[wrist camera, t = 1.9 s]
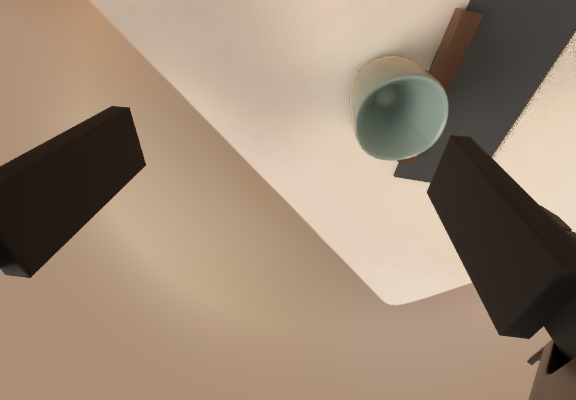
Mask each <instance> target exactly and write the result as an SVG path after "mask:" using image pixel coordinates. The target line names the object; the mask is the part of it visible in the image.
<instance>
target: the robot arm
mask: <svg viewBox="0 0 576 400" xmlns="http://www.w3.org/2000/svg"><path fill="white" fill-rule="evenodd" d="M144 166H146V163H145V160H144V157H143V153H142V149H141V146H140V142H139V139H138V136H137V132H136V128H135V125H134V122H133V118H132V115H131V111H130V108H128V107H117V106H111V107H109V108H108V109H106V110H104V111H102V112H100V113H98V114H97V115H95V116H93V117H91V118H89V119H87V120H85V121H83V122H82V123H80V124H78V125H76V126H74V127H72V128H71V129H69V130H67V131H65V132H63V133H61V134H59V135H58V136H56V137H54V138H52V139H50V140H48V141H46V142H45V143H43V144H41V145H39V146H37V147H35V148H33V149H32V150H30V151H28V152H26V153H24V154H22V155H21V156H19V157H17V158H15V159H13V160H11V161H10V162H8V163H6V164H4V165H3V166H0V269H1V270H2V272H3V273H4V274H5V275H10V276H18V277H26V278H31V277H32V276H33V275H34V274H35V272H37V271H38V270H39V269H40V268H41V267H42V266H43V265H44V264H45V263H46V262H47V261H48V260H49V259H50V258H51V257H52V256H53V255H54V254H55V253H56V252H57V251H58V250H59V249H60V248H61V247H63V246H64V245H65V244H66V243H67V242H68V241H69V240H70V239H71V238H72V237H73V236H74V235H75V234H76V233H77V232H78V231H79V230H80V229H81V228H82V227H83V226H84V225H85V224H86V223H87V222H88V221H89V220H90V219H91V218H92V217H93V216H94V215H95V214H96V213H97V212H98V211H99V210H100V209H101V208H102V207H103V206H105V205H106V204H107V203H108V202H109V201H110V200H111V199H112V198H113V197H114V196H115V195H116V194H117V193H118V192H119V191H120V190H121V189H122V188H123V187H124V186H125V185H126V184H127V183H128V182H129V181H130V180H131V179H132V178H133V177H134V176H135V175H136V174H137V173H138V172H140V170H142V169H143V168H144ZM427 194H428V196H429V198H430V200H431V202H432V204H433V206H434V208H435V210H436V212H437V214H438V215H439V217H440V219H441V221H442V223H443V225H444V227H445V229H446V231H447V233H448V235H449V237H450V239H451V241H452V243H453V245H454V247H455V249H456V251H457V253H458V255H459V257H460V259H461V261H462V263H463V265H464V267H465V269H466V271H467V273H468V275H469V277H470V279H471V281H472V283H473V284H474V286H475V288H476V290H477V292H478V294H479V296H480V298H481V300H482V302H483V304H484V306H485V308H486V310H487V312H488V314H489V316H490V318H491V320H492V322H493V324H494V326H495V328H496V330H497V332H498V334H499V335H501V336H509V337H518V338H526V339H530V338H531V337H532V336H533V335H534V334H535V333H536V332H538V331H539V330H540V329H541V328H542V327H543V326H544V327H545V329H546V330H547V331H548V333H549V335H550V336H551V338H552V340H551V341H550V342H548V343H547V344H546V345H545V346H544V347H542V348H541V349H540V350H539V351H538V352H537V353H535V354H534V355H533V356H532V357H531V358H530V359H529V360H528V361H527V362H528V363H530V364H531V365H532V364H534V363H535V362H536V361H538V360H540V363H539V366H538V370H537V373H536V376H535V380H534V383H533V387H532V390H531V394H530V397H529V400H576V233H575V232H572V231H571V230H572V229H571V228H570V227H569V226H568V225H567V224H566V223H565V222H564V221H563V220H561V219H560V218H559V217H558V216H557V215H555V214H553V213H552V212H550V211H549V210H547V209H545V208H544V207H542V206H541V205H538V204H537V203H536V202H535V201H534V200H533V199H532V198H531V197H530V196H529V195H528V194H527V193H526V192H525V191H524V190H523V189H522V188H521V187H520V186H519V185H518V184H517V183H516V182H515V181H514V180H513V179H512V178H511V177H510V176H509V175H508V174H507V173H506V172H505V171H504V170H503V169H502V168H501V167H500V166H499V165H498V164H497V163H496V162H495V161H494V160H493V159H492V158H491V157H490V156H489V155H488V154H487V153H486V152H485V151H484V150H483V149H482V148H481V147H480V146H479V145H478V144H477V143H476V142H475V141H474V140H473V139H472V138H471V137H467V136H456V135H450V138H449V140H448V142H447V145H446V147H445V150H444V152H443V154H442V157H441V159H440V162H439V164H438V166H437V169H436V171H435V174H434V176H433V178H432V181H431V183H430V186H429V188H428V190H427Z"/></svg>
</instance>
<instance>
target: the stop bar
mask: <svg viewBox="0 0 576 400" xmlns="http://www.w3.org/2000/svg"><path fill="white" fill-rule="evenodd" d="M483 16H484V13H481V12H476V11H470V10H464V9H458V8H456V9H455V12H454V14H453V16H452V19H451V21H450V23H449V26H448V28H447V31H446V33H445V35H444V38H443V40H442V43H441V45H440V47H439V50H438V52H437V55H436V57H435V59H434V62H433V64H432V66H431V69H430V71H429V72H430V73H431V74H432V75H433V76H435V77H436V79H437V80H438V81H439V82H440V83H441V84H442V86H443V87H444V89H445V91H446V93H447V91H448V89H449V87H450V85H451V83H452V81H453V79H454V77H455V74H456V72H457V70H458V68H459V66H460V64H461V62H462V60H463V58H464V56H465V53H466V51H467V49H468V47H469V45H470V43H471V41H472V39H473V37H474V35H475V32H476V30H477V28H478V26H479V24H480V22H481V20H482V18H483ZM416 156H417V155H416ZM416 156H413V157H410V158H407V159H402V160H397V161H398V162H403V163H409V164H413V163H414V161H415V158H416Z"/></svg>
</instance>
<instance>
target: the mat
mask: <svg viewBox="0 0 576 400" xmlns="http://www.w3.org/2000/svg"><path fill="white" fill-rule="evenodd" d="M466 10H470V11H476V12H481V13H484V16H483V18H482V20H481V22H480V24H479V26H478V28H477V30H476V32H475V35H474V37H473V39H472V41H471V43H470V45H469V47H468V49H467V51H466V53H465V56H464V58H463V60H462V62H461V64H460V66H459V68H458V70H457V72H456V74H455V77H454V79H453V81H452V83H451V85H450V87H449V89H448V91H447V93H446V94H447V97H448V102H449V114H448V119H447V123H446V126H445V128H444V131H443V132H442V134H441V136H440V137H439V139H438V140H437V141H436V142H435V143H434V144H433V145H432V146H431V147H430V148H428V149H427V150H426V151H424V152H422V153H420V154H418V155H417V156H416V158H415V161H414V163H413V164H409V163H403V162H399V164H398V166H397V169H396V171H395V173H394V177H399V178H405V179H411V180H417V181H424V182H430V183H431V181H432V178H433V176H434V174H435V171H436V169H437V166H438V164H439V162H440V159H441V157H442V154H443V152H444V150H445V147H446V145H447V142H448V140H449V138H450V135H456V136H467V137H471V138H472V139H473V140H474V141H475V142H476V143H477V144H478V145H479V146H480V147H481V148H482V149H483V150H484V151H485V152H486V153H487V154H488V155H489V156H490V157H492V156H493V154H494V153H495V151H496V150H497V148H498V147H499V145H500V144H501V142H502V141H503V139H504V138H505V136H506V135H507V133H508V132H509V130H510V129H511V127H512V126H513V124H514V123H515V121H516V120H517V118H518V117H519V115H520V114H521V112H522V111H523V109H524V108H525V106H526V105H527V103H528V102H529V100H530V99H531V97H532V96H533V94H534V93H535V91H536V90H537V88H538V87H539V85H540V84H541V82H542V81H543V79H544V78H545V76H546V75H547V73H548V72H549V70H550V69H551V67H552V66H553V64H554V63H555V61H556V60H557V58H558V57H559V55H560V54H561V52H562V51H563V49H564V48H565V46H566V45H567V43H568V42H569V40H570V39H571V37H572V36H573V34H574V33H575V31H576V0H470V2H469V5H468V7H467V9H466Z"/></svg>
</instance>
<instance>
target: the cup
mask: <svg viewBox="0 0 576 400" xmlns="http://www.w3.org/2000/svg"><path fill="white" fill-rule="evenodd" d="M349 108H350V115H351V120H352V125H353V130H354V134H355V136H356V139H357V141H358V143H359V145H360V146H361V148H362V149H363V150H364V151H365V152H366V153H367V154H368V155H370V156H372V157H374V158H377V159H381V160H390V161H391V160H402V159H407V158H410V157H413V156H416V155H418V154H420V153H422V152H424V151H426V150H427V149H428V148H430V147H431V146H432V145H433V144H434V143H435V142H436V141H437V140H438V139H439V137H440V136H441V134H442V132H443V131H444V128H445V126H446V123H447V119H448V114H449V102H448V97H447V94H446V91H445V89H444V87H443V86H442V84H441V83H440V82H439V81H438V80H437V79H436V77H435V76H433V75H432V74H431V73H430V72H429V71H428V70H427V69H425V68H424V67H423V66H421V65H420V64H418V63H416V62H415V61H413V60H411V59H408V58H405V57H401V56H385V57H381V58H377V59H375V60H373V61H371V62H369V63H367V64H366V65H365V66H363V67H362V68H361V69H360V70H359V71H358V73H357V74H356V76H355V78H354V80H353V82H352V85H351V90H350V95H349Z"/></svg>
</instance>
